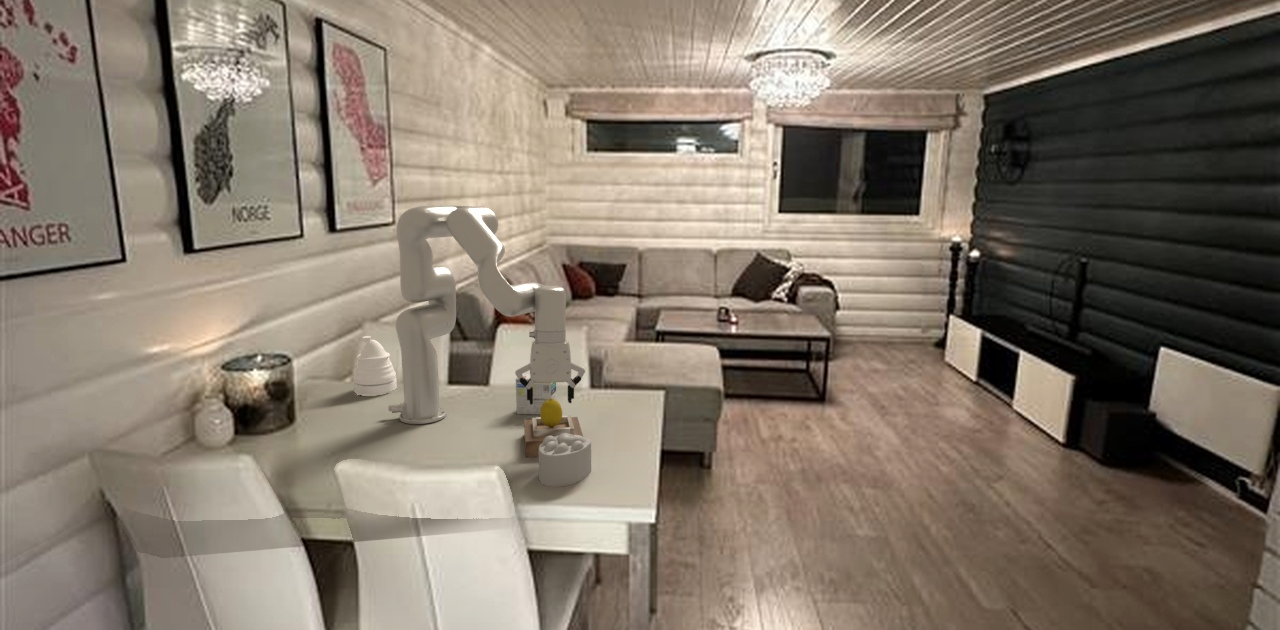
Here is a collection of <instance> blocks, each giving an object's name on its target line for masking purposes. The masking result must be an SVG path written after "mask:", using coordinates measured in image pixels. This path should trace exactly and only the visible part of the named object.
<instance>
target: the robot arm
mask: <svg viewBox="0 0 1280 630" xmlns="http://www.w3.org/2000/svg"><path fill="white" fill-rule="evenodd" d="M498 228H499V221H498V218H497V216H496V214H495V212H493V211H492V210H491V209H490V208H488V207H485V206H469V205H467V206H466V205H421V206H414V207H412V208H411V207H410V208H408V209H407V210H405V211H404V212H403V213H402V214H401V215H400V217H399V219H398V221H397V225H396V238H397V243H398V249H399V273H400V274H399V276H400V277H399V279H400V291H401V292H400V293H401V296H402V297H403V299H404V300H405V301H406V302H408V303H412V304H417V303H418V304H420V303H424V302H428V304H426V305H425V304H423V305H420V306H419V305H418V306H415V307H410V308H407V309H405V310H403V311H401V312H400V314H399V315H398V316H397V318H396V320H395V331H396V335H397V338H398V342H399V347H400V348H399V349H400V355H401V368H402V386H403V399H404V401H403V402H400V404H394V403H393V404H388V409H387V410H388V412H391V413H392V414H397V413H400V414H399V416H398V417H399V421H401V422H402V423H405V424H409V425H424V424H431V423H435V422H439V421H441V420H443V419H444V418H446V415H447V411H446V410H445V408H442V407H441V404H440V403H441V401H440V384H439V381H440V380H439V365H438V360H439V359H438V354H437V351H436V348H435V346H434V345H433V343H432V341H431V339H436V338H439V337H442V336H445V335H447V334H450V333H451V332H452V331H453V330H454V328H455V325H456V320H457V291H456V290H457V289H456V286H457V285H456V280H455V277H454V274H453V272H452V271H451V270H450V269H449V268H448V267H446V266H443V265H439V264H436V265H434V263H433V258H434V256H433V251H432V247H431V246H430V243H429V242H428V240H427V239H437V238H438V239H439V238H449V237H453V238H454V240H455V241H456V242H457V244H458V245H459V246H460V247H461V248H462V250H463V251H464V252H465V253H466V255H468V257H469V258H470V260H471V261H472V262H473V263H474V264H475V265H476V267H477V279H478V283H479V287H480V289H481V291H482V292H481V293H483V295H484V296H485V298H486V299H487V300H488V301H489V302H490V304H491V305H492V306H493V307H494V308H495V310H496V311H497V312H499V313H500V314H501V315H503V316H506V317H511V318H512V317H517V316H522V315H525V314H529V313H534V330H533V331H529V333H528V336H529V338H532V339H534V340H533V341H532V343H531V348H530V356H529V363H528V364H525V365H524V366H522V367H520V368H518V369H516V370H515V376H516V378H518V379H519V381H520V383H521V384H523V385H524V386H525V387H526V389H527V400H530V405H532V404H533V387H532V386H533V385H534V383H553V382H556V383H567V402H568V404H572V400H575V388H576V386H577V385H578V384H579V383H580V382H581V381H582V379H583V376H584V375H585V373H586V370H585V368H584V367H582V366H579V365H577V364H575V363H573V362H572V356H571V347H570V343H569V341H568V340H567V339H566V338H567V337H566V335H567V334H566V333H567V332H566V331H567V329H566V327H567V325H566V323H567V322H566V321H567V320H566V319H567V316H566V315H567V314H566V309H567V308H566V306H567V305H566V304H567V301H566V300H567V299H566V298H567V297H566V296H567V295H566V294H567V293H566V291H565V289H564V288H563V287H561V286H557V285H546V284H545V285H544V284H542V283H539V282H534V281H529V282H523V283H517V284H513V285H511V284H510V283H509V282H508V281H507V279H506V278H505V277H504V276H503V274H502V273H501V272H500V270H499V267H498V264H499V263H500V261H501V260H502V259H503V257H504V254H505V253H506V249H505V248H506V247H505V246H504V244H503V243H502V242H501V241H500V240H499V238H498V237H497V236H496V235H495V234H497V232H498V230H499V229H498ZM572 370H574V371H575V372H577V375H576V376H574V378H572ZM528 371H529V373H530V379H529V380H528V381H527V380H526V379H525V378H524V377H523V375H522V374H523V373H527V372H528Z"/></svg>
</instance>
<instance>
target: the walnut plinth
mask: <svg viewBox="0 0 1280 630" xmlns="http://www.w3.org/2000/svg"><path fill="white" fill-rule="evenodd" d="M523 422H524V424H523V425H524V428H523V429H524V444H525V445H524V448H525V457H526V458H536V457H535V456H538V457H539V446H540V444H542V443H543V440H544V438H545V437H547V436H553V437H554V436H557V435H561V434H562V433H568V434H572V435H580V436H582V437H584V435H583V431H582V428H581V424H580V421H579V418H578V416H571V415H562V419H561V421H560V423H559V424H558V425H557V426H554V428H551V429H550V428H549V427H548V426H546V425H544V424H543V422H542V420H541V417H540V416H539V417H538V416H537V417H531V419H523Z"/></svg>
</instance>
